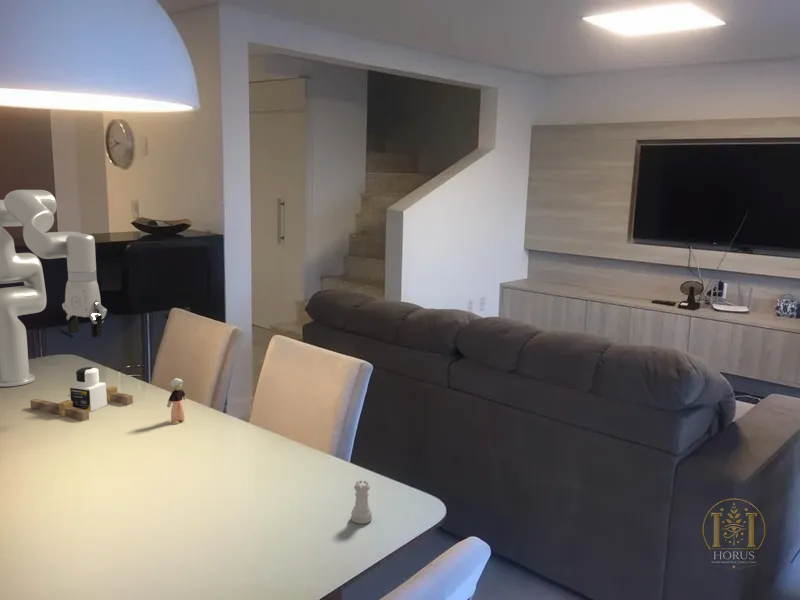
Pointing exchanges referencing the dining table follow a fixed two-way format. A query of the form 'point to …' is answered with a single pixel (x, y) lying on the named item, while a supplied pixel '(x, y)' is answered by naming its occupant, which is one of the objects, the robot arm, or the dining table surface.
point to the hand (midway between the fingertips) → (85, 334)
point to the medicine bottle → (88, 390)
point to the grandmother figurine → (177, 402)
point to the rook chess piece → (361, 504)
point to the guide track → (76, 413)
